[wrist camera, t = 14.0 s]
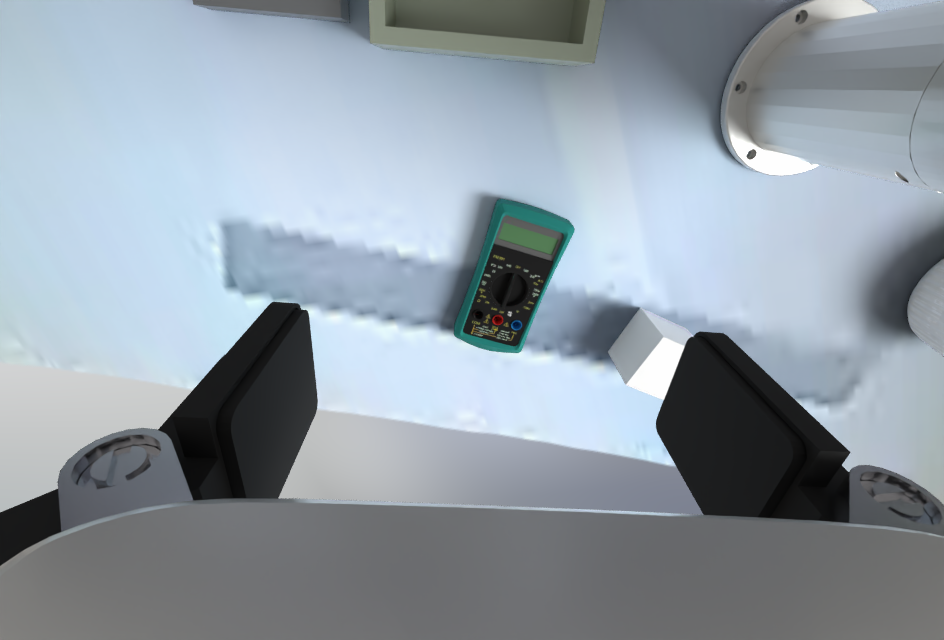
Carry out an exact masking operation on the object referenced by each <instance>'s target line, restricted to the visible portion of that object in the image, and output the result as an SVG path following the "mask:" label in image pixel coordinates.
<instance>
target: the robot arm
mask: <svg viewBox="0 0 944 640" xmlns="http://www.w3.org/2000/svg"><path fill="white" fill-rule="evenodd" d="M795 18H796V20H795ZM736 86H738V87H737V89H736V90H735V88H736ZM721 128H722V134H723V138H724V140H725V143H726V145H727V148H728V150H729V151H730V152H731V154H732V155H733V156H734V158H735V159H736V160H737V161H739V162H740V163H741V164H742V165H744V166H745V167H747V168H749V169H751V170H753V171H756V172H759V173H763V174H767V175H775V176H785V175H794V174H798V173H801V172H805V171H808V170H811V169H813V168H815V167H817V166H819V165H820V166H824V167H829V168H833V169H837V170H842V171H846V172H851V173H855V174H859V175H864V176H868V177H873V178H877V179H882V180H886V181H890V182H895V183H899V184H904V185H908V186H912V187H917V188H921V189H926V190H930V191H934V192H939V193H943V194H944V0H943V1H937V2H932V3H926V4H920V5H915V6H909V7H903V8H897V9H892V10H886V11H880V12H879V11H878V10H877V9H876V8H875V7H874V6H873V5H871V4H870V3H868V2H866V1H864V0H810V1H807V2H804V3H801V4H798V5H796V6H794V7H792V8H790V9H789V10H787V11H785V12H783V13H781V14H780V15H778V16H777V17H776V18H775V19H773V20H772V21H771V22H769V23H768V24H767V25H766V26H764V27H763V28H762V29H761V30H760V32H759V33H758V34H757V35H756V36H755V37H754V38H753V39H752V40H751V41H750V42H749V44H748V45H747V46H746V48H745V49H744V51H743V52H742V53H741V55H740V56H739V58H738V60H737V62H736V63H735V65H734V67H733V69H732V71H731V73H730V75H729V78H728V81H727V84H726V86H725V89H724V93H723V98H722V104H721ZM747 152H748V154H747ZM746 154H747V155H746ZM317 403H318V400H317V389H316V380H315V370H314V360H313V351H312V341H311V331H310V322H309V314H308V311H307V310H301V308H300V305H299V304H296V303H282V302H272V303H270V305H269V306H268V307H267V308H266V309H265V310H264V311H263V313H262V314H261V315H260V316H259V317H258V318H257V319H256V321H255V322H254V323H253V324H252V325H251V326H250V327H249V329H248V330H247V331H246V332H245V333H244V334H243V335H242V337H241V338H240V339H239V340H238V341H237V342H236V343H235V345H234V346H233V347H232V348H231V349H230V350H229V351H228V353H227V354H226V355H224V356H223V357H222V358H221V359H220V360H219V361H218V362H217V363H216V365H215V366H214V367H213V368H212V369H211V370H210V371H209V373H208V374H207V375H206V376H205V377H204V378H203V379H202V380H201V382H200V383H199V384H198V385H197V386H196V387H195V388H194V390H193V391H192V392H191V393H190V394H189V395H188V396H187V398H186V399H185V400H184V401H183V402H182V403H181V404H180V406H179V407H178V408H177V409H176V410H175V411H174V412H173V413H172V415H171V416H170V417H169V418H168V419H167V420H166V421H165V423H164V424H163V425H162V426H161V427H160V428H159V429H158V430H157V429H148V428H138V429H128V430H124V431H121V432H117V433H113V434H110V435H108V436H105V437H103V438H100V439H98V440H96V441H94V442H92V443H90V444H89V445H87V446H85V447H84V448H82V449H80V450H79V451H78V452H77V453H76V454H75V455H73V456H72V457H71V458H70V459H69V460H68V461H67V462H66V464H65V465H64V466H63V468H62V469H61V470H60V473H59V478H58V489H56V490H54V491H51V492H49V493H46V494H44V495H42V496H39V497H37V498H34V499H32V500H30V501H27V502H25V503H22V504H20V505H18V506H15V507H13V508H10V509H8V510H5V511H3V512H1V513H0V640H944V505H943V504H942V503H941V502H940V500H938V499H937V498H936V497H935V496H933V495H932V494H931V493H930V492H928V491H927V490H926V489H924V488H923V487H921V486H919V485H918V484H916V483H915V482H913V481H911V480H909V479H907V478H905V477H903V476H901V475H899V474H897V473H895V472H892V471H889V470H886V469H884V468H880V467H875V466H870V465H858V466H856V467H854V468H852V469H851V470H850V472H848V471H847V470H846V469H845V468H844V467H843V466H842V464H843V462H844V461H845V459H846V458H847V457H848V455H849V454H850V451H848V450H847V449H846V448H845V447H844V446H843V445H842V444H841V443H840V442H839V441H838V440H837V439H836V438H835V437H834V436H833V435H832V434H830V433H829V432H828V431H827V430H826V429H825V428H824V427H823V426H822V425H821V424H820V423H819V422H818V421H817V420H816V419H815V418H814V417H813V416H811V415H810V414H809V413H808V412H807V411H806V410H805V409H804V408H803V407H802V406H801V405H800V404H799V403H798V402H797V401H796V400H795V399H793V398H792V397H791V396H790V395H789V394H788V393H787V392H786V391H785V390H784V389H783V388H782V387H781V386H780V385H779V384H778V383H777V382H775V381H774V380H773V379H772V378H771V377H770V376H769V375H768V374H767V373H766V372H765V371H764V370H763V369H762V368H761V367H760V366H759V365H757V364H756V363H755V362H754V361H753V360H752V359H751V358H750V357H749V356H748V355H747V354H746V353H745V352H744V351H743V350H742V349H741V348H740V347H738V346H737V345H736V344H735V343H734V342H733V341H732V340H731V339H730V338H729V337H728V336H727V335H725V334H724V333H712V332H698V333H696V334H695V335H694V337H690V338H689V339H688V340H687V342H686V344H685V347H684V349H683V352H682V354H681V357H680V360H679V362H678V365H677V367H676V370H675V373H674V375H673V378H672V380H671V383H670V386H669V388H668V391H667V393H666V396H665V399H664V401H663V404H662V406H661V409H660V411H659V414H658V417H657V420H656V429H657V432H658V434H659V436H660V438H661V440H662V442H663V443H664V445H665V447H666V449H667V450H668V452H669V454H670V456H671V458H672V459H673V461H674V463H675V465H676V466H677V468H678V470H679V472H680V473H681V475H682V477H683V479H684V481H685V482H686V484H687V486H688V488H689V490H690V491H691V493H692V495H693V497H694V498H695V500H696V502H697V504H698V505H699V507H700V508H701V511H702V513H703V514H704V515H695V514H674V513H652V512H632V511H610V510H609V511H608V510H585V509H563V508H539V507H516V506H515V507H514V506H491V505H466V504H438V503H411V502H383V501H357V500H326V499H323V500H322V499H278V497H279V495H280V493H281V491H282V488H283V486H284V484H285V482H286V479H287V477H288V475H289V473H290V470H291V468H292V466H293V463H294V461H295V459H296V457H297V455H298V452H299V450H300V448H301V446H302V443H303V441H304V439H305V437H306V434H307V432H308V430H309V428H310V425H311V423H312V421H313V419H314V416H315V414H316V410H317Z"/></svg>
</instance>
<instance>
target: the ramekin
mask: <svg viewBox="0 0 944 640" xmlns="http://www.w3.org/2000/svg"><path fill="white" fill-rule="evenodd" d="M907 314H908V321H909V325H910V327H911V329H912V331H913V332H914V333H915V334H916V336H918V337H919V338H920V339H921V340H922V341H923V342H925V343H926V344H927V345H928V346H930V347H931V348H932V349H934V350H935V351H936V352H938V353H939V354H940V355H942V356H943V357H944V259H942V260H941V261H940V262H938V263H937V264H936V265H934V266H933V267H932V268H931V269H930V270H929V271H928V272H927V273H926V274H925V275H924V276H923V277H922V278H921V280H920V281H919V282H918V284H917V285H916V287H915V288H914V290H913V292H912V294H911V296H910V299H909V302H908V307H907Z"/></svg>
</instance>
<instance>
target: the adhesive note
mask: <svg viewBox="0 0 944 640" xmlns="http://www.w3.org/2000/svg"><path fill="white" fill-rule="evenodd" d="M690 337H694V336H693V335H692V334H691V333H690V332H689V331H688V330H687V329H686V328H684V327H682V326H680V325H678V324H675V323H673V322H671V321H669V320H667V319H664V318H662V317H660V316H658V315H656V314H653V313H651V312H649V311H647V310H645V309H642V308H639V310H638V311H637V313H636V314H635V315H634V317H633V318H632V319H631V321H630V322H629V323H628V325H627V326H626V328H625V329H624V330H623V332H622V333H621V334H620V336H619V337H618V338H617V340H616V341H615V343H614V344H613V345H612V347H611V348H610V349H609V351H608V353H609V355H610V357H611V359H612V361H613V362H614V364H615V366H616V368H617V370H618V372H619V373H620V375H621V377H622V379H623V381H624V383H625V384H626V385H627V386H630V387H632V388H635V389H637V390H640V391H642V392H645V393H647V394H650V395H652V396H655V397H657V398H660V399H662V400H664V399H665V396H666V393H667V391H668V388H669V386H670V383H671V380H672V378H673V375H674V373H675V370H676V367H677V365H678V362H679V360H680V357H681V354H682V352H683V349H684V347H685V344H686V342H687V340H688V339H689V338H690Z"/></svg>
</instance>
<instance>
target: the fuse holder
mask: <svg viewBox="0 0 944 640" xmlns="http://www.w3.org/2000/svg"><path fill="white" fill-rule="evenodd" d="M193 4H194V5H197V6H201V7H204V8H207V9H211V10H218V11H229V12H240V13H251V14H262V15H272V16H283V17H294V18H305V19H316V20H327V21H338V22H349V2H348V0H193ZM349 23H350V22H349Z"/></svg>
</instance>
